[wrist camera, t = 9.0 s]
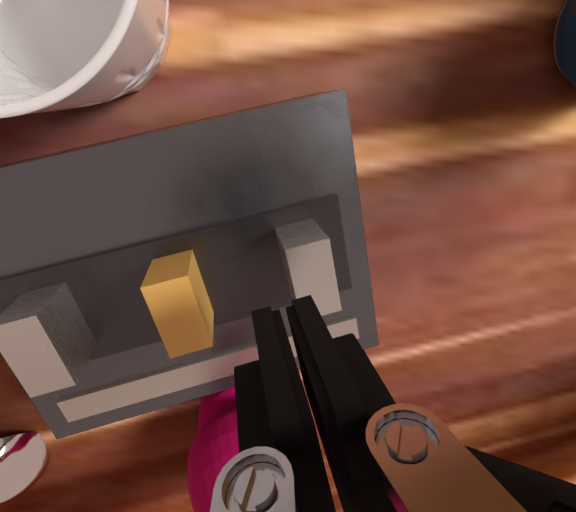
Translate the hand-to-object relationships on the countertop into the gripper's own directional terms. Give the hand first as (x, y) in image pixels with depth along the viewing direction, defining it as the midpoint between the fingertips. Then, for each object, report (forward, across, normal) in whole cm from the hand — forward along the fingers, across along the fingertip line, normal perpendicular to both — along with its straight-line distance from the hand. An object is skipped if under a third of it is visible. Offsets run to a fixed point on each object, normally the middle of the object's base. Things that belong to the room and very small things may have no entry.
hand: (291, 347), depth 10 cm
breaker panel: (+11, +4, 0) cm, 12 cm away
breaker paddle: (+6, +4, 0) cm, 7 cm away
